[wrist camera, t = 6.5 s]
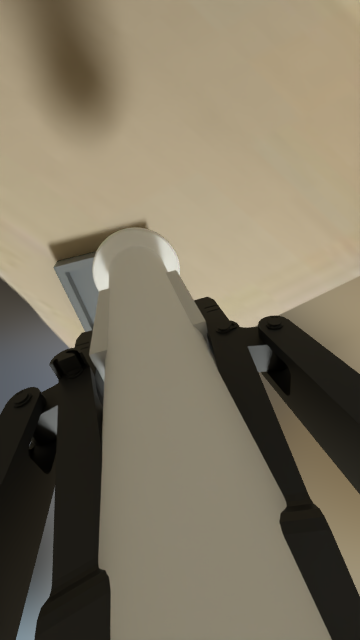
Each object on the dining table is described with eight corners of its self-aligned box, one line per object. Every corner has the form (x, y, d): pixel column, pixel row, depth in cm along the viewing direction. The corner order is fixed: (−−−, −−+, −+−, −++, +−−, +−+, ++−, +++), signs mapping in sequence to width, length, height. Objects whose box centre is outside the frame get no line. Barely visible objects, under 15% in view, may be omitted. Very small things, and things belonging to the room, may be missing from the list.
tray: (57, 261, 34) (53, 267, 32) (150, 237, 35) (152, 242, 33) (93, 336, 41) (92, 345, 39) (170, 314, 42) (172, 322, 40)
